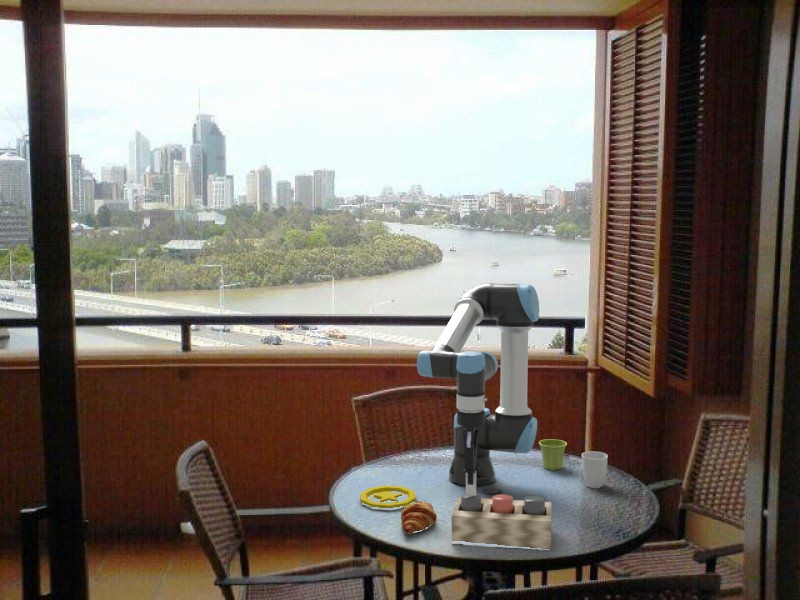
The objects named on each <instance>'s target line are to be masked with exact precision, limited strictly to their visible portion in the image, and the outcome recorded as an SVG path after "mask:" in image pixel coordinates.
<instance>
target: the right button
mask: <svg viewBox="0 0 800 600" xmlns="http://www.w3.org/2000/svg"><path fill="white" fill-rule="evenodd" d="M523 501H524V514H525V515H542V516H545V502H546V499H545V498H543V497H541V496H536V495H533V496H532V495H531V496H526V497H524V499H523Z"/></svg>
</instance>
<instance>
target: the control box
mask: <svg viewBox="0 0 800 600" xmlns="http://www.w3.org/2000/svg"><path fill="white" fill-rule="evenodd" d="M455 501H456V502H455V504H454V507H453V510H452V513H451V542H452V541H465V542H471V543H485V544H497V545H505V546H517V547H530V548H541V549H549V550H551V551H552V503H553V502H551V501H545V516H542V515H525V514H524V500H520V499H519V500H517V499H516V500H514V499H513V514H507V513H492V498H482V497H481V512H473V511H461V496H460V497H459V496H458V497H457V499H456V500H455Z"/></svg>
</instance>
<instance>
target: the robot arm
mask: <svg viewBox="0 0 800 600" xmlns="http://www.w3.org/2000/svg"><path fill="white" fill-rule="evenodd" d="M453 308H454V313H453V314H452V316H451V318H450V320H449V321H448V323H447V325H446V326H445V328H444V330H443V331H442V333H441V335H440V336H439V338H438V339H437V341H436V343H435V345H434V346H433V347H432V348H431V350H429V349H427V350H422V351H420V352H419V353H418V356H417V361H416V369H417V373H418V374H419V376H422V377H426V378H431V379H435V378H436V379H449V380H450V379H451V380H452V379H454V380H456V409H457V411H456V413H455V415H454V419H453V420H454V421H453V432H454V433H453V448H454V449H453V450H454V451H453V452H454V455H453V459H452V461H451V466H450V468H449V471H448V479H450V480H451V481H453V482H455V483H458V484H457V485H459V484H461V485H460V486H464V485H466V486H465V493H466V495H470V496H476V493H477V487H480V486H481V485H482V486H487V485H490V484H492V483H494V482H495V480H496V471H495V468H494V465H493V463H492V459H491V455H490V453H491V452H490V451H494V452H504V453H513V454H515V455H516V454H528V453H530V452H531V450H532V448H533V447H534V444H535V441H536V436H537V431H538V419H537V418H536V417H534V416H533V411H532V410H531V408H529V406H528V380H529V379H528V377H529V376H528V371H529V370H528V368H529V367H528V366H529V331H530V330H531V329H532V328H534V322H538V320H539V318H540V302H539V296H538V293H537V290H536V288H535V287H534V286H533V285H531V284H525V283H492V282H488V283H481V284H479V285H476V286H475V287H472V288H471V289H469V290H468V291H466V292H465V293H464V294H462V295H461V297H459V299H458V301H457V302H456V303H455V305H454V307H453ZM483 320H493V321H495V320H496V327H497V328H498V329H499V331H500V383H499V384H500V385H499V386H500V390H499V392H500V393H499V395H500V398H499V405H498V407H496V409H495V413H494V414H493V413H491V411H490V409H489V408H487V407H486V403H485V402H487V401H488V398H487V397H485V396H486V395H485V394H486V392H485V391H486V381H488V380H490V379H491V378H493V376H494V375H495V374H496V373H497V371H498V368H499V364H498V363H499V362H498V360H497V357H496V356H495V355H494V354H493V353H492V352H488V351H477V350H476V351H474V350H473V351H472V350H470V351H462V350H463V348H464V346H465V345H466V343H467V341H468V338H469V337H470V336H471V334H472V332H473V330H474V328H475V326H477V325H478V324H480V323H481V322H482V321H483ZM461 351H462V352H461ZM450 480H449V481H450ZM451 481H450V482H451ZM453 482H452V483H453ZM455 483H454V484H455ZM486 484H487V485H486ZM482 486H481V487H482Z"/></svg>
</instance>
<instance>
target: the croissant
mask: <svg viewBox="0 0 800 600" xmlns="http://www.w3.org/2000/svg"><path fill="white" fill-rule="evenodd" d="M401 510H402V511H401V515H400V521H401V529H402V531H403V533H405V532H406V533H405V534H407V533H412V534H414V533H413V532H415V531H420V530H423V529H425V528H426V527H429V526H430V525H431V526H433V525H434V524H435V523H436V521H437V518H438V517H437V513H436V512H435V510H434V507H433V505H432V504H431V503H429V502H427V501H416V502H415V503H412V504H409V505H406V506H405V507H404V509H401ZM431 526H430V527H431ZM430 527H429V528H430Z"/></svg>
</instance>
